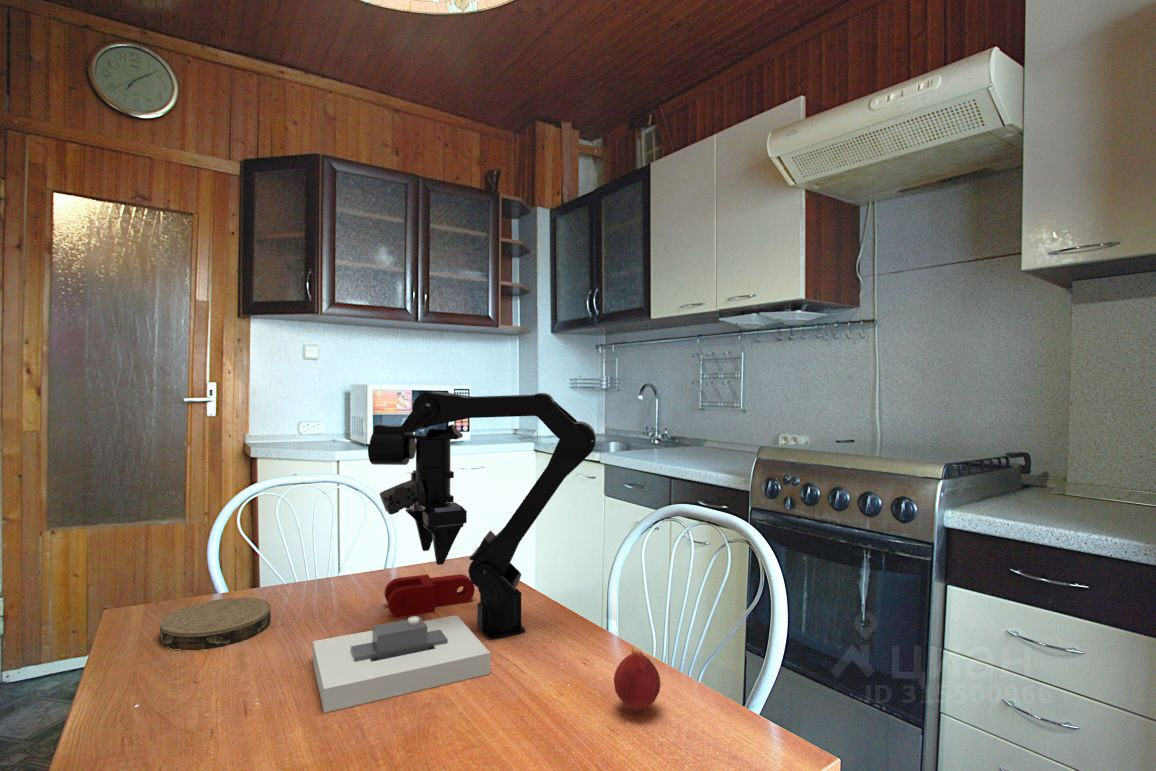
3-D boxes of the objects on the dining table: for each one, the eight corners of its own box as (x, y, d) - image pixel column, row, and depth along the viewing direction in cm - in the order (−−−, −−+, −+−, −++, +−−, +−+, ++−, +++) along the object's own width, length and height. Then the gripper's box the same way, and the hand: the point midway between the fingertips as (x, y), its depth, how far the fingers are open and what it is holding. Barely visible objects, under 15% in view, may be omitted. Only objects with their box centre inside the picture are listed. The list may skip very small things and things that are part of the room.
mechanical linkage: (388, 619, 106) (389, 591, 106) (384, 606, 113) (384, 579, 113) (477, 606, 113) (477, 580, 113) (468, 594, 119) (468, 569, 119)
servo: (354, 683, 83) (354, 634, 83) (350, 671, 87) (350, 624, 87) (447, 663, 89) (447, 617, 89) (440, 652, 93) (440, 608, 93)
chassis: (456, 633, 100) (456, 615, 100) (490, 673, 86) (490, 652, 86) (312, 661, 90) (312, 641, 90) (323, 712, 76) (324, 689, 76)
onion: (663, 703, 78) (664, 642, 78) (654, 727, 73) (655, 661, 73) (620, 696, 80) (620, 635, 80) (608, 718, 75) (608, 654, 75)
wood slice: (260, 645, 96) (260, 626, 96) (143, 658, 91) (143, 638, 91) (278, 610, 111) (278, 593, 111) (179, 619, 106) (179, 602, 106)
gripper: (374, 461, 107) (373, 549, 107) (396, 475, 90) (395, 580, 90) (436, 458, 112) (435, 542, 112) (468, 471, 95) (467, 569, 95)
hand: (432, 557), depth 102 cm, fingers open, 9 cm apart
